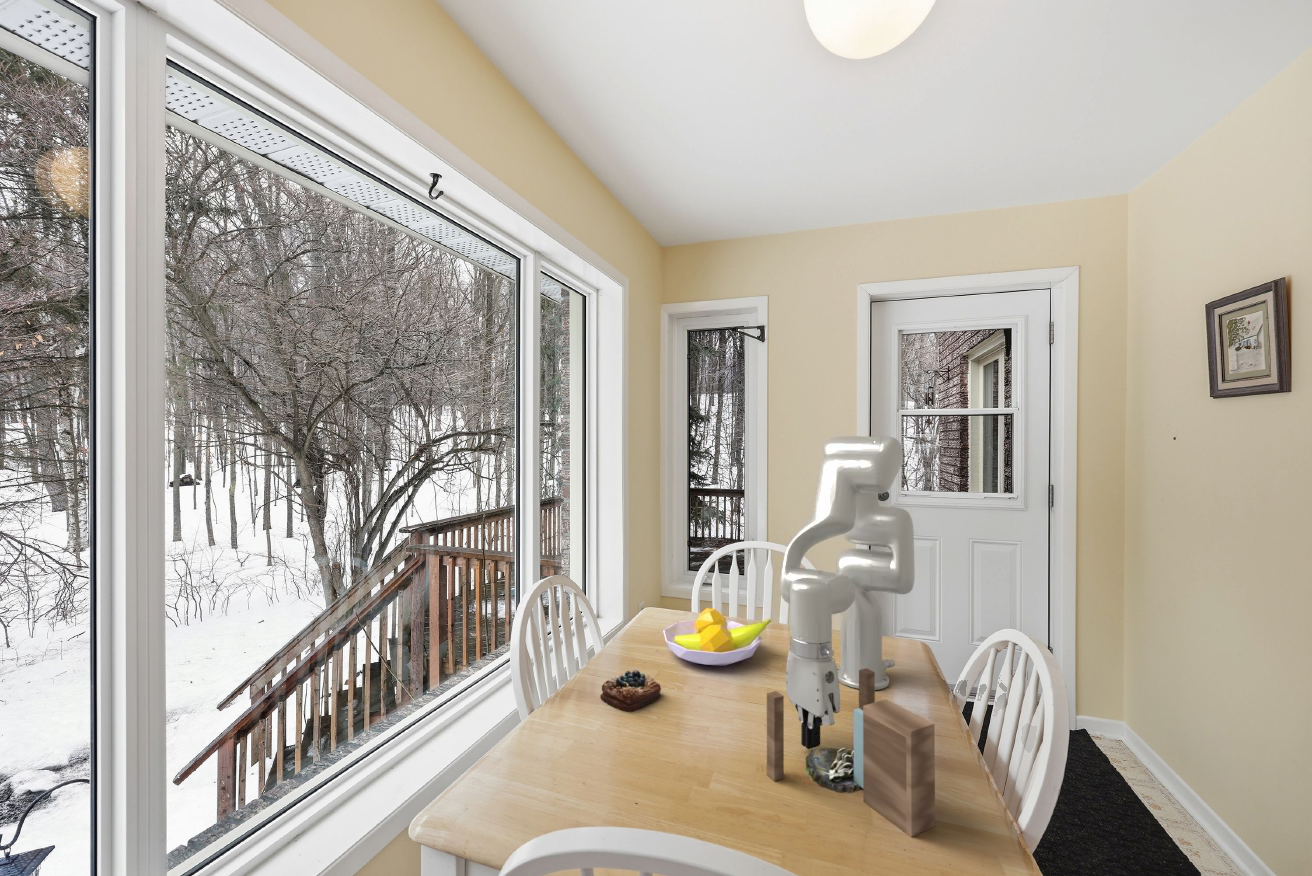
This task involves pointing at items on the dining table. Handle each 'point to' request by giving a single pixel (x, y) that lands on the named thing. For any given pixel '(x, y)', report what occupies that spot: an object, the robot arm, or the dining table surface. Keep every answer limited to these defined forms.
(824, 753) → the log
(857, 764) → the door panel
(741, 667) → the dining table surface
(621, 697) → the pastry
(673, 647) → the fruit bowl
